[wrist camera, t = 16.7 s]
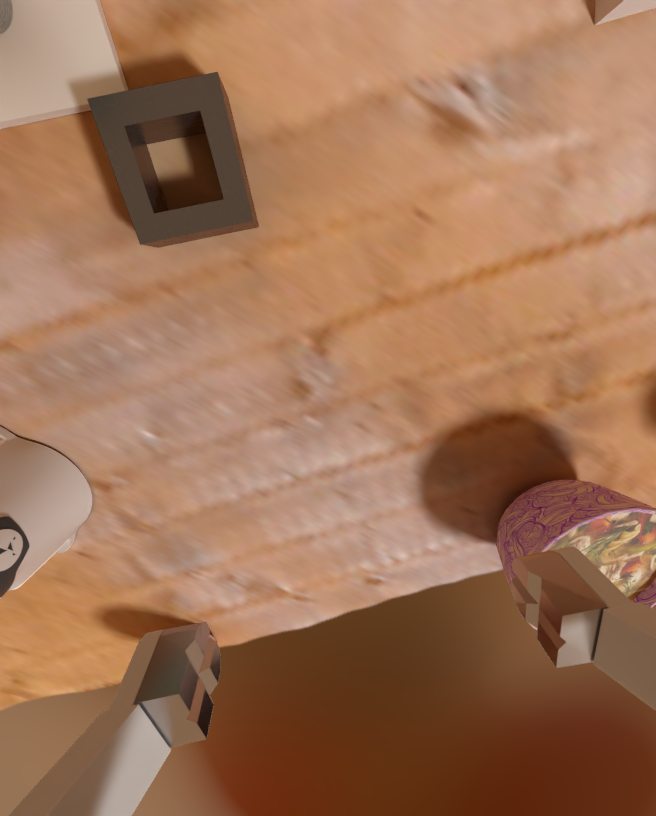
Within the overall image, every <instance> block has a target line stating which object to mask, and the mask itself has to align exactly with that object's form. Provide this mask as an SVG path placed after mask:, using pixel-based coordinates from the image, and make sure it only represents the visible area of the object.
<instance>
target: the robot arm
mask: <svg viewBox="0 0 656 816" xmlns="http://www.w3.org/2000/svg"><path fill="white" fill-rule="evenodd" d="M91 508H92V494H91V490H90V487H89V485H88V482H87V480H86V479H85V477H84V476H83V474H82V473H81V472H80V470H79V469H78V468H77V467H76V466H75V465H74V464H73V463H72V462H71V461H70V460H68V459H67V458H66V457H64V456H63V455H61V454H60V453H58V452H56V451H55V450H53V449H51V448H48V447H46V446H44V445H41V444H38V443H35V442H31V441H28V440H25V439H22V438H19V437H17V436H15V435H14V434H12V433H11V432H9V431H7V430H6V429H4V428H2V427H1V426H0V600H1V597H2V596H3V595H4V594H5V593H6V592H7V591H9V590H15V589H17V588H19V587H20V586H21V585H23V584H24V583H25V582H26V581H27V580H28V579H29V578H30V577H31V576H32V575H33V574H34V573H35V572H36V571H37V570H38V569H39V568H40V567H41V566H42V565H43V564H44V563H46V562H47V561H48V560H49V559H50V558H51V557H52V556H53V555H54V554H55V553H63V552H65V551H67V550H68V549H69V548H70V547H71V546H72V545H73V543H74V540H75V534H76V531H77V529H78V528H79V527H80V526H81V525H82V524H83V523H84V522H85V520H86V519H87V518H88V516H89V514H90V511H91ZM512 570H513V571H514V573H515V574H516V576H515V577H514V578H513V579H512V581H511V591H512V594H513V597H514V601H515V603H516V605H517V607H518V609H519V611H520V613H521V614H522V616H523V618H524V619H525V621H527V622H528V623H530V624H531V625H533V626H534V627H536V628H537V639H538V641H539V642H540V644H541V645H542V647H543V649H544V650H545V652H546V653H547V655H548V656H549V657H550V659H551V661H552V662H553V664H554V665H555V667H556V668H559V667H564V666H571V665H577V664H583V663H589V662H593V664H594V665H595V666H596V667H598V668H599V669H600V670H602V671H603V672H604V673H606V674H607V675H608V676H610V677H611V678H612V679H614V680H615V681H616V682H618V683H619V684H620V685H622V686H623V687H624V688H626V689H627V690H628V691H630V692H631V693H632V694H634V695H635V696H637V697H638V698H639V699H641V700H642V701H643V702H644V703H646V704H647V705H648V706H650V707H651V708H652V709H654V710H655V711H656V610H655V609H653V608H651V607H649V606H647V605H645V604H643V603H641V602H637V603H632V602H631V601H630V600H629V599H628V598H627V597H626V596H625V595H624V594H623V593H622V592H621V591H620V590H619V589H618V588H617V587H616V586H615V585H614V584H613V583H612V582H611V581H610V580H609V579H608V578H607V577H606V576H605V575H604V574H603V573H602V572H601V571H600V570H599V569H598V568H597V567H596V566H595V565H594V564H593V563H592V562H591V561H590V560H589V559H588V558H587V557H586V556H585V555H584V554H583V553H582V552H581V551H580V550H579V549H577V548H575V547H573V546H571V547H566V548H561V549H556V550H552V551H551V550H549V551H544V552H540V553H535V554H531V555H526V556H522V557H517V558H514V560H513V561H512ZM209 634H210V628H209V627H208V625H207V623H206V622H203V623H197V624H191V625H186V626H180V627H174V628H169V629H163V630H158V631H153V632H148V633H145V635H144V636H143V637H142V638H141V639H140V641H139V643H138V645H137V648H136V650H135V652H134V654H133V657H132V659H131V661H130V664H129V666H128V668H127V670H126V673H125V675H124V677H123V679H122V682H121V684H120V686H119V689H118V691H117V693H116V695H115V698H114V700H113V702H112V704H111V707H110V709H109V710H106V711H103V712H102V713H101V714H100V715H99V716H98V717H97V718H96V719H95V721H94V722H93V723H92V724H91V725H90V726H89V727H88V728H87V730H85V732H84V733H83V734H82V735H81V736H80V737H79V738H78V739H77V740H76V742H75V743H74V744H73V745H72V746H71V747H70V748H69V749H68V750H67V752H66V753H65V754H64V755H63V756H62V757H61V758H60V759H59V761H58V762H57V763H56V764H55V765H54V766H53V767H52V768H51V769H50V770H49V772H48V773H47V774H46V775H45V776H44V777H43V778H42V779H41V780H40V782H39V783H38V784H37V785H36V786H35V787H34V788H33V789H32V790H31V792H30V793H29V794H28V795H27V796H26V797H25V798H24V799H23V801H22V802H21V803H20V804H19V805H18V806H17V807H16V808H15V809H14V810H13V812H12V813H11V814H10V815H9V816H132V814H133V812H134V811H135V809H136V808H137V806H138V804H139V803H140V801H141V799H142V798H143V796H144V794H145V793H146V791H147V789H148V788H149V786H150V784H151V783H152V781H153V779H154V778H155V776H156V774H157V773H158V771H159V769H160V768H161V766H162V765H163V763H164V761H165V760H166V758H167V756H168V755H169V753H170V751H171V749H170V748H171V747H175V746H180V745H184V744H188V743H192V742H196V741H201V740H205V739H207V735H208V729H209V725H210V720H211V715H212V710H213V706H214V704H213V702H212V699H211V697H210V693H211V692H212V691H213V690H214V688H215V687H216V685H217V684H218V680H219V675H220V666H221V665H220V664H221V663H220V662H221V661H220V660H221V656H220V651H219V647H218V645H217V642H216V641H215V640H213V639H211V638H209Z"/></svg>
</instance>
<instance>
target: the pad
mask: <svg viewBox="0 0 656 816" xmlns="http://www.w3.org/2000/svg"><path fill="white" fill-rule="evenodd" d="M11 2H12V7H13V17H12V22H11V24H10V26H9V28H8V29H7V30H6V31H5V32H4V33H2V34H0V129H3V128H7V127H12V126H17V125H22V124H27V123H32V122H37V121H41V120H46V119H51V118H56V117H61V116H66V115H71V114H75V113H80V112H85V111H90V110H91V108H90V106H89V103H88V100H87V99H88V98H93V97H98V96H103V95H108V94H112V93H117V92H122V91H127V90H128V87H127V83H126V80H125V77H124V74H123V71H122V68H121V65H120V62H119V59H118V56H117V53H116V50H115V47H114V44H113V40H112V37H111V34H110V31H109V28H108V25H107V22H106V19H105V16H104V13H103V10H102V7H101V4H100V1H99V0H11Z"/></svg>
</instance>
